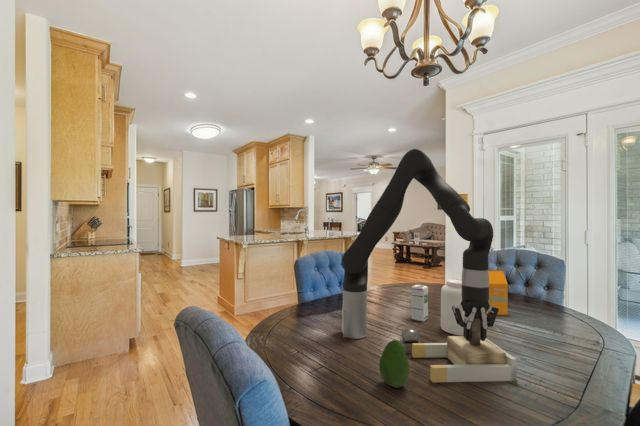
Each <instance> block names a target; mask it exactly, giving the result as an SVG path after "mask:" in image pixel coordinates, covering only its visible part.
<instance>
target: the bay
mask: <svg viewBox="0 0 640 426" xmlns="http://www.w3.org/2000/svg"><path fill="white" fill-rule="evenodd" d="M486 340H488V341H489V342H491V343H492V344H493V345H495V346H496V347H498V348H499V349H501V350H502V351H504V352H505V354H506V364H472V365H454V364H433V365H432V364H429V368H430V369H429V373H430V374H429V379H430V381H431V383H466V382H467V383H469V382H470V383H472V382H477V383H478V382H480V383H481V382H517V379H518V374H517V372H518V368H517V367H518V364H517V363H518V362H517V360H518V359H517V358H516V357H514V356H513V355H511V354H510V353H508V352H507V351H505V350H504V349H503V348H501V347H500V346H499V345H497V344H495V343H494V342H493V341H491V340H489V339H488V338H486ZM411 356H412V358H422V359H423V358H427V359H428V358H448V357H447V342H423V343H422V342H421V343H412V353H411Z"/></svg>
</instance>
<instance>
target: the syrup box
mask: <svg viewBox="0 0 640 426" xmlns="http://www.w3.org/2000/svg"><path fill="white" fill-rule="evenodd" d="M410 289H411V294H410V295H411V298H410V299H411V300H410V301H411V302H410V303H411V305H410V306H411V307H410V308H411V320H415V321H419V322H425V321H426V320H428V319H429V287H428V286H427V285H423V284H415V285H412V286H411V288H410Z"/></svg>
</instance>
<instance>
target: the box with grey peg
mask: <svg viewBox="0 0 640 426" xmlns="http://www.w3.org/2000/svg"><path fill="white" fill-rule="evenodd" d="M470 329H471V341H467V340H466V339H465V338H464V336H460V335H451V336H450V335H447V337H446V338H447V339H446V343H447V357H446V358H447V359H448V360H449V361H450V362H451V363H452V365H472V364H506V354H505V352H506V351H505V350H504V351H505V352H504V351H502V350H503V349H502V348H501V349H502V350H501V349H499V348H498V347H499V346H498V347H496V346H495V345H496V344H495V345H493V344H492V343H493V342H492V341H491V342H492V343H491V342H489V341H490V340H489V339H488V340H489V341H488V340H486V339H487V338H486V339H485V341H481V340H480V318H478V317H476V318H474V320H473V322H472V323H471V327H470Z"/></svg>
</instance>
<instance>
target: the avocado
mask: <svg viewBox="0 0 640 426" xmlns="http://www.w3.org/2000/svg"><path fill="white" fill-rule="evenodd" d="M409 362H410V361H409V359H408V356H407V353H405V350H404V347H403V345H402V344H401V343H400V340H398V339H392V340H390V341H389V342H387V344H386V345H385V347H384V349H383V351H382V354H381V357H380V359H379V366H378V367H379V373H380V377H381V378H382V379H383V380H384V382H385V383H386V384H387V385H389V386H390V387H393V388H396V389H398V388H402V387H403V386H404V385H406V384H407V382H408V379H409V376H410V371H411V370H410V363H409Z"/></svg>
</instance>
